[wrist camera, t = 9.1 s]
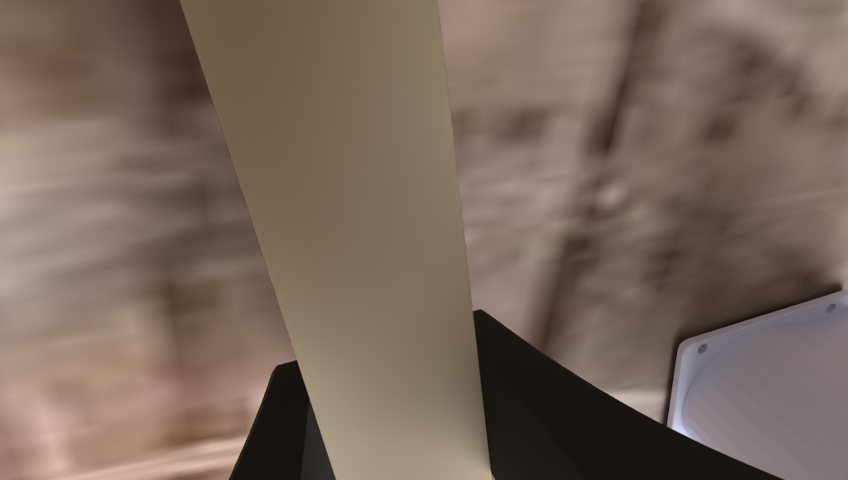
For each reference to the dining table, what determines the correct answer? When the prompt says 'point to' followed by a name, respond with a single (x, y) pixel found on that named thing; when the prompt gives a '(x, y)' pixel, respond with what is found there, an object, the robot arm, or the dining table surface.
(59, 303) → the dining table surface
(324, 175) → the beige tapered strip
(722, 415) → the robot arm
